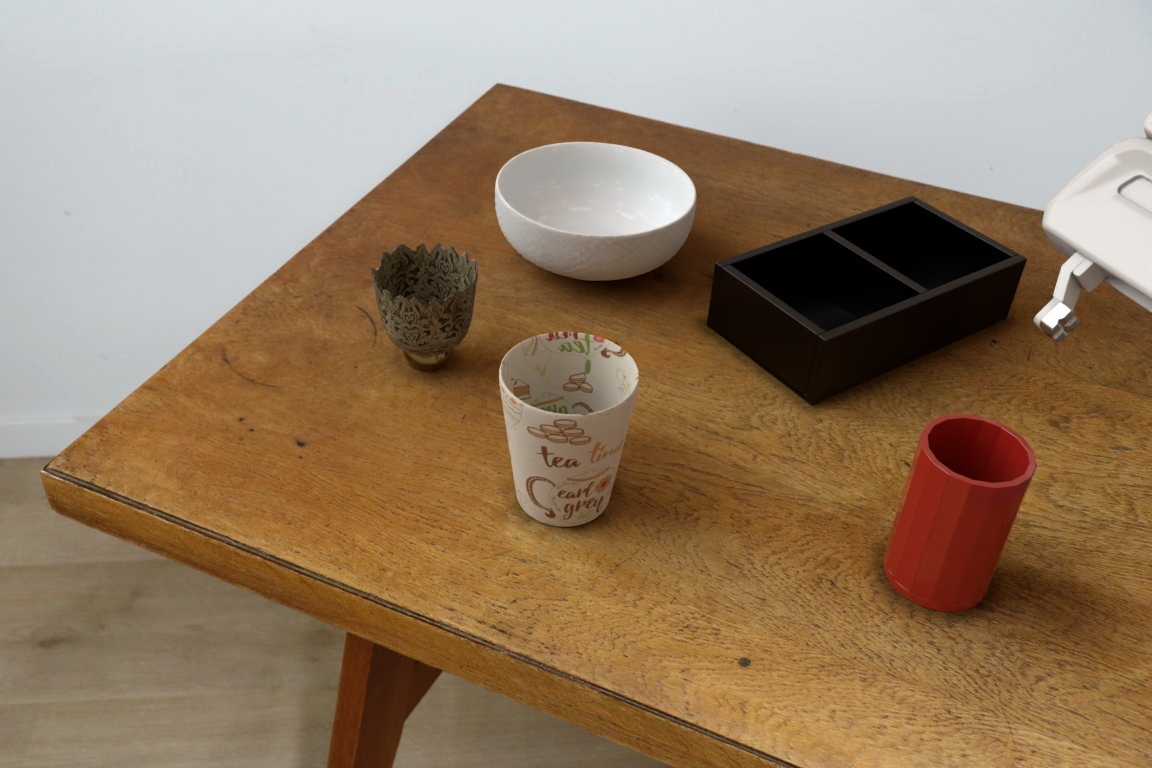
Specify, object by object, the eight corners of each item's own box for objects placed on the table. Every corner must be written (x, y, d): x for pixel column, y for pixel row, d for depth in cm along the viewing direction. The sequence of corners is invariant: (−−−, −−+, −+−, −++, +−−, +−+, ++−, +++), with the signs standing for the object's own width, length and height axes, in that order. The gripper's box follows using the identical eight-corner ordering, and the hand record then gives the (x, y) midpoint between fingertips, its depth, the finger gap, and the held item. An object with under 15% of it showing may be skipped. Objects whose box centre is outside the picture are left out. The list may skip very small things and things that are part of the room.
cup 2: (930, 523, 71) (970, 401, 65) (1008, 585, 67) (1059, 461, 61) (861, 560, 68) (898, 436, 62) (939, 627, 64) (986, 502, 58)
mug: (481, 526, 69) (480, 400, 63) (535, 405, 79) (538, 286, 73) (612, 553, 68) (624, 427, 62) (650, 427, 77) (663, 307, 71)
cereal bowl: (684, 321, 88) (694, 244, 84) (478, 301, 89) (477, 223, 85) (691, 218, 102) (700, 147, 97) (512, 201, 103) (512, 130, 98)
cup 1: (457, 399, 79) (455, 305, 74) (362, 378, 80) (353, 285, 76) (492, 341, 85) (492, 251, 80) (402, 323, 86) (396, 233, 81)
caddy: (897, 253, 98) (912, 194, 95) (1007, 319, 91) (1028, 258, 87) (706, 324, 88) (714, 261, 84) (811, 405, 80) (826, 340, 77)
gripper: (1490, 321, 55) (1272, 514, 58) (1165, 150, 70) (1001, 309, 72) (1484, 260, 51) (1249, 471, 53) (1139, 90, 65) (966, 262, 68)
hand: (1104, 376), depth 63 cm, fingers open, 8 cm apart
